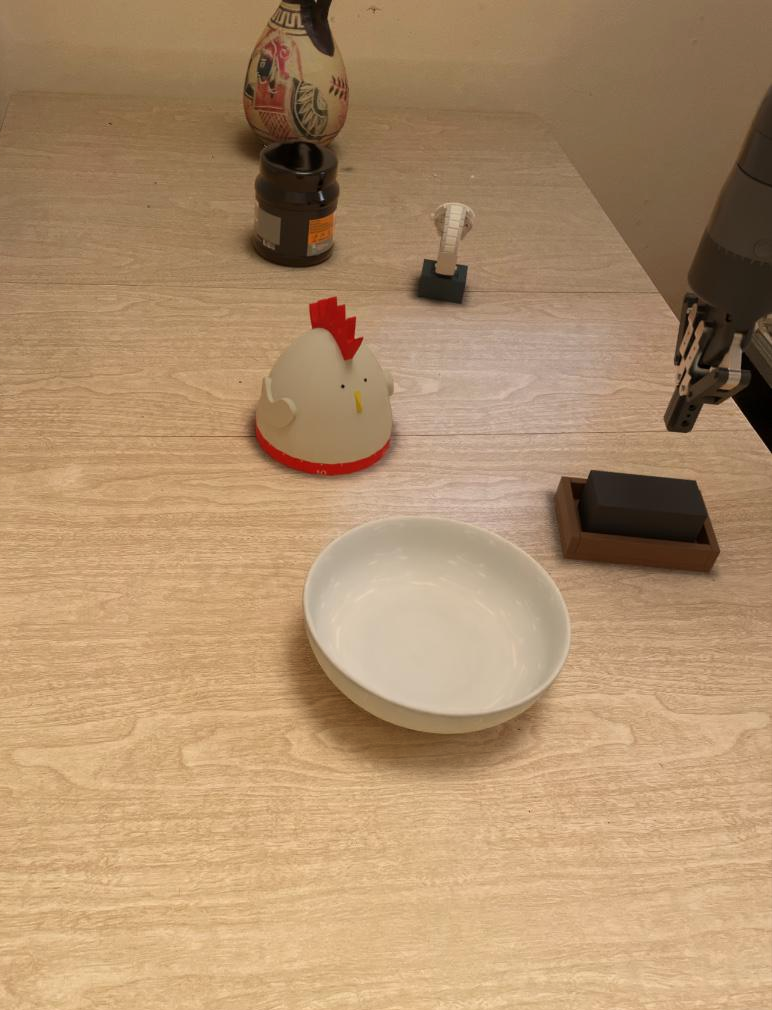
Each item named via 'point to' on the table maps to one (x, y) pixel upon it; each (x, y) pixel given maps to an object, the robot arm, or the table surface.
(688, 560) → the brown wooden tray
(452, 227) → the cobra figurine
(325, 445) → the kitchen timer
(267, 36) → the ceramic jug
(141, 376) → the table surface
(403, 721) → the serving bowl
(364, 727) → the table surface
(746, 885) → the table surface
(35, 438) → the table surface
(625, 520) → the black rectangular block
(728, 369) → the robot arm
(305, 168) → the supplement container
